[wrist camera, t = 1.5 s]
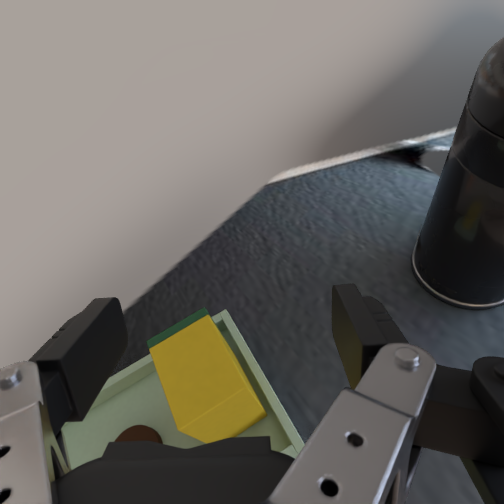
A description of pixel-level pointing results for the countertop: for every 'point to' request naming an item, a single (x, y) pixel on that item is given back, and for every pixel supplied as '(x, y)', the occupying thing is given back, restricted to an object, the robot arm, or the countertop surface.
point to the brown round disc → (139, 434)
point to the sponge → (204, 380)
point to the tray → (158, 411)
